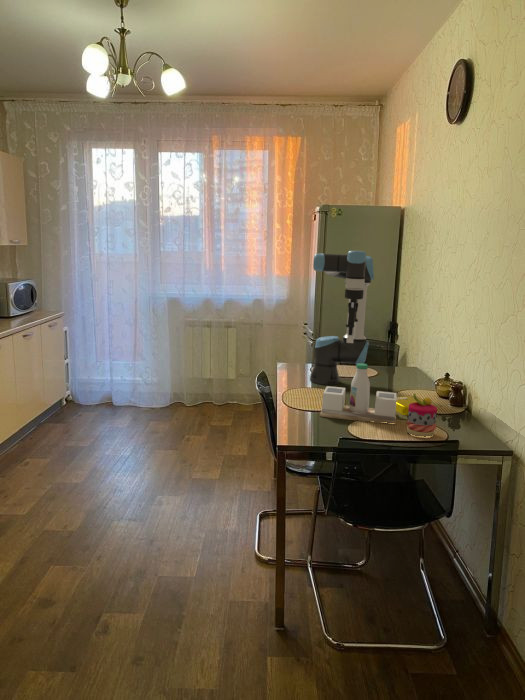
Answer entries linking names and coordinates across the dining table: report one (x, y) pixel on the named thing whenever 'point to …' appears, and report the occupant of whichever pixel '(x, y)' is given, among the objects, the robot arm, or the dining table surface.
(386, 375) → the dining table surface
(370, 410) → the mounting board
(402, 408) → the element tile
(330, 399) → the mounted modules
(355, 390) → the milk bottle
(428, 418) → the cake
